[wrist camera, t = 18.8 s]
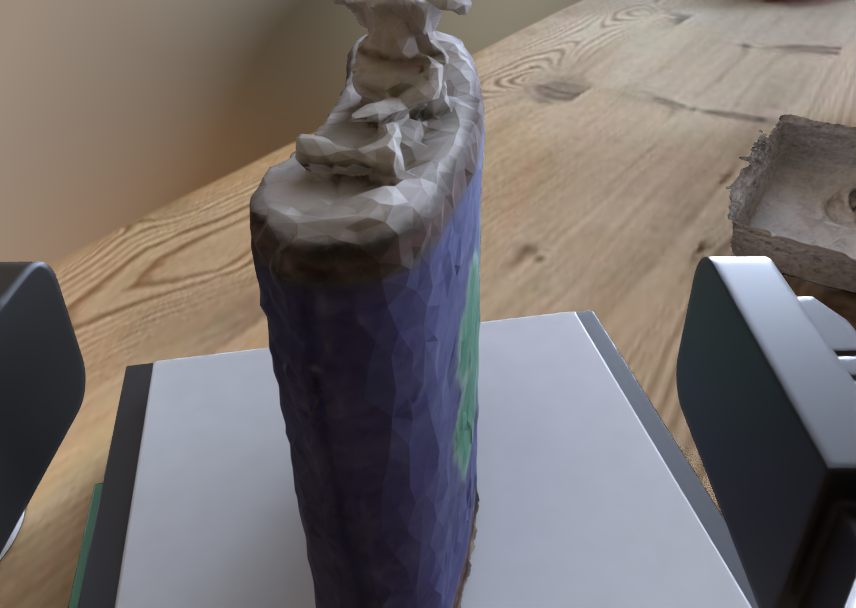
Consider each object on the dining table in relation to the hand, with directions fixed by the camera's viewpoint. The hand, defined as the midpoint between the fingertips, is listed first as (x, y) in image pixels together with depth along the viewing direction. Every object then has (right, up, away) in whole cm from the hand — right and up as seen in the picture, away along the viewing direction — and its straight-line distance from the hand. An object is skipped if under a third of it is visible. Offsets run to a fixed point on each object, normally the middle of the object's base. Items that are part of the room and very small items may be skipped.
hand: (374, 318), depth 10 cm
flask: (0, -4, +8) cm, 9 cm away
